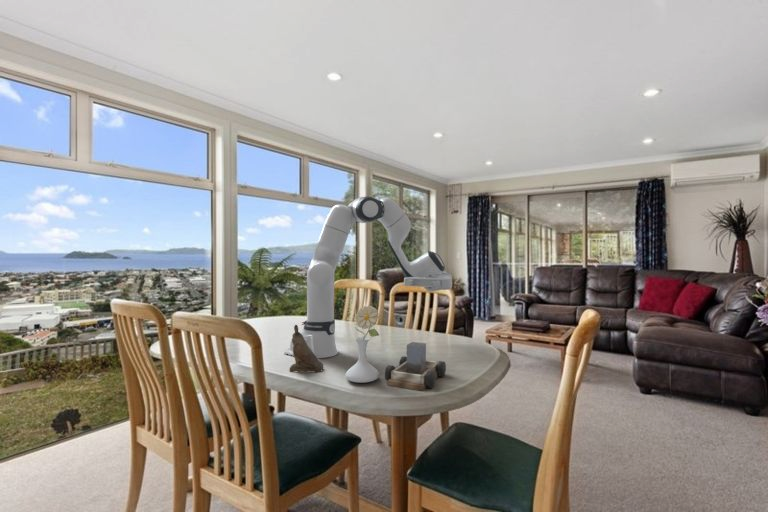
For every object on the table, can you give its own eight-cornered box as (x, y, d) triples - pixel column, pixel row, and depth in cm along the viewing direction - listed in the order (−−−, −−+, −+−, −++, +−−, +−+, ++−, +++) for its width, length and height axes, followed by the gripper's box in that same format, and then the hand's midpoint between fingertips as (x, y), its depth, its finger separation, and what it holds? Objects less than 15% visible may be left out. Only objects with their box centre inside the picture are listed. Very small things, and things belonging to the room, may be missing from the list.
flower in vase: (337, 380, 124) (338, 304, 124) (362, 372, 132) (362, 301, 132) (366, 390, 115) (366, 308, 115) (390, 380, 124) (390, 304, 124)
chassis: (382, 384, 120) (382, 368, 120) (406, 367, 138) (406, 353, 138) (428, 391, 114) (428, 375, 114) (446, 373, 132) (446, 358, 132)
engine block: (406, 375, 125) (406, 345, 125) (412, 370, 129) (412, 341, 129) (420, 377, 123) (420, 346, 123) (425, 372, 127) (425, 343, 127)
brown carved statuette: (289, 378, 133) (278, 329, 133) (294, 373, 139) (284, 326, 139) (321, 372, 132) (311, 322, 132) (325, 367, 138) (315, 319, 138)
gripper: (410, 273, 168) (398, 274, 156) (455, 274, 160) (446, 276, 147) (410, 287, 169) (398, 290, 156) (455, 289, 160) (446, 292, 147)
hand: (421, 283), depth 152 cm, fingers open, 8 cm apart
